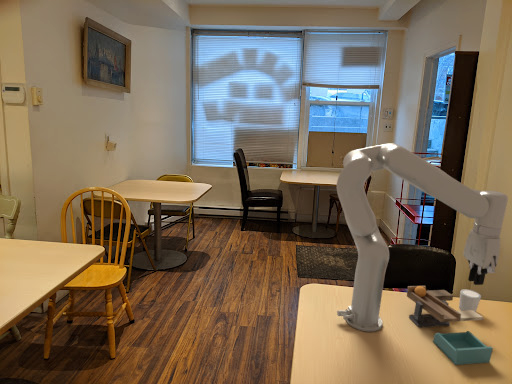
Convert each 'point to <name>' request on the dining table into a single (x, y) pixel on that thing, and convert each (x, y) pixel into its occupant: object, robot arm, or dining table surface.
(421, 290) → the orange ball
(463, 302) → the white cup
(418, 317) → the lever stand
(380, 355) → the dining table surface
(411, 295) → the walnut lever
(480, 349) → the teal tray
